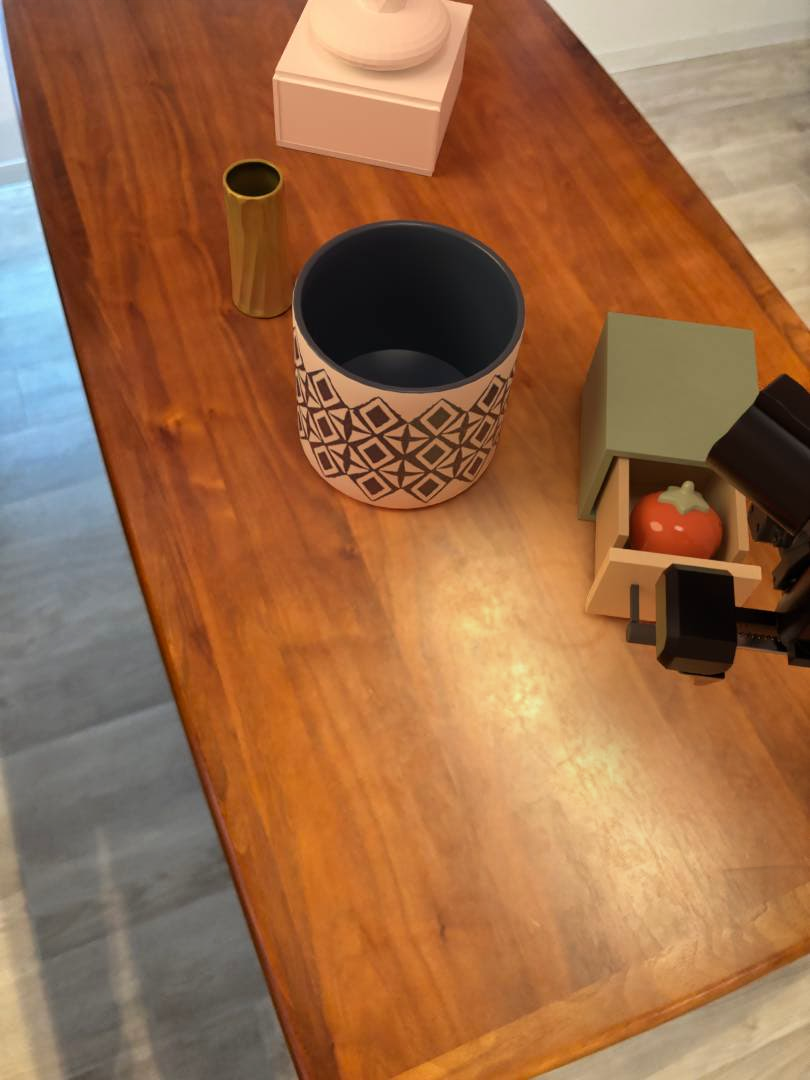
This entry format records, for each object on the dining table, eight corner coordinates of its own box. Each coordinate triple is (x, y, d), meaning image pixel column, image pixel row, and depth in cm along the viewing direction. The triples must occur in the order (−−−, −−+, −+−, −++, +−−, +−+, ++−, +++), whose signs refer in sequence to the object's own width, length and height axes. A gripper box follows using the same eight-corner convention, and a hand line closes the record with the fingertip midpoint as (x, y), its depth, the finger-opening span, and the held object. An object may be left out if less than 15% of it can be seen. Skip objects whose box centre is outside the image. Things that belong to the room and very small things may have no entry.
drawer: (725, 685, 80) (766, 638, 72) (583, 666, 80) (609, 618, 72) (715, 493, 89) (751, 434, 82) (587, 477, 89) (611, 416, 82)
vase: (224, 282, 100) (208, 163, 87) (282, 267, 101) (275, 147, 89) (244, 326, 97) (230, 209, 85) (303, 309, 98) (299, 192, 86)
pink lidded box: (276, 146, 110) (268, 6, 96) (319, 49, 119) (317, -91, 106) (432, 177, 109) (446, 40, 95) (464, 77, 118) (480, -61, 104)
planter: (294, 354, 95) (287, 219, 81) (483, 349, 97) (509, 216, 83) (302, 517, 86) (295, 398, 72) (510, 508, 88) (544, 389, 74)
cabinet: (721, 537, 88) (765, 469, 79) (578, 519, 88) (606, 448, 79) (713, 406, 95) (754, 329, 86) (582, 389, 95) (607, 311, 86)
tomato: (720, 597, 79) (752, 509, 75) (629, 589, 78) (657, 499, 74) (692, 548, 86) (720, 465, 82) (608, 540, 85) (632, 455, 81)
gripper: (1018, 473, 57) (888, 597, 71) (693, 431, 57) (625, 563, 71) (1061, 651, 52) (911, 749, 65) (700, 604, 52) (625, 712, 65)
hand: (765, 687), depth 67 cm, fingers open, 9 cm apart
